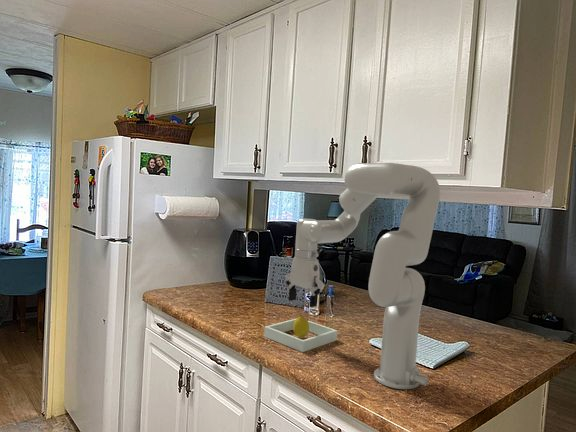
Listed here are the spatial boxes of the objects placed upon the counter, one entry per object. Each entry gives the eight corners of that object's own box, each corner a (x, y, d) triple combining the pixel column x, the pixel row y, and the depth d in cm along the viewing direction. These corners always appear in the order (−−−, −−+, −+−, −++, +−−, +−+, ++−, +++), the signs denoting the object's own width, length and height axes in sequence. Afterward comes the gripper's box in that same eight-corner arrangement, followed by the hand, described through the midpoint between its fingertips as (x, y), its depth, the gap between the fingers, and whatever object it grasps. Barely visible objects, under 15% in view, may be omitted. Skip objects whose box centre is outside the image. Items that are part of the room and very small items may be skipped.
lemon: (295, 341, 146) (296, 318, 145) (290, 335, 151) (292, 313, 150) (310, 341, 147) (311, 318, 147) (305, 335, 152) (306, 313, 152)
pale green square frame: (336, 340, 149) (337, 330, 149) (302, 352, 136) (303, 341, 136) (298, 326, 162) (299, 317, 161) (264, 336, 149) (264, 326, 148)
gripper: (332, 257, 144) (328, 307, 145) (294, 250, 156) (291, 296, 157) (318, 259, 139) (314, 311, 140) (280, 251, 150) (277, 299, 151)
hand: (302, 303), depth 148 cm, fingers open, 9 cm apart
